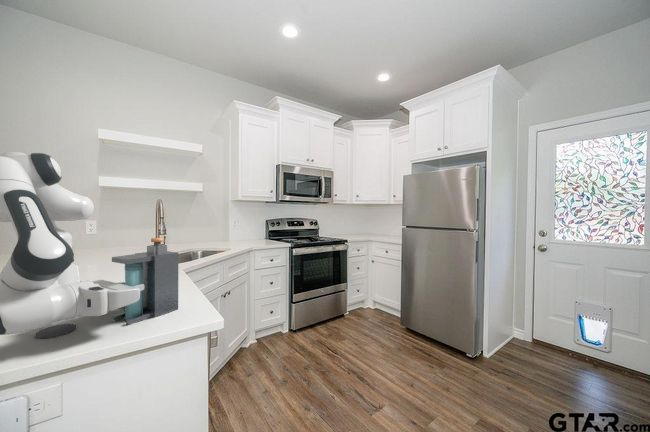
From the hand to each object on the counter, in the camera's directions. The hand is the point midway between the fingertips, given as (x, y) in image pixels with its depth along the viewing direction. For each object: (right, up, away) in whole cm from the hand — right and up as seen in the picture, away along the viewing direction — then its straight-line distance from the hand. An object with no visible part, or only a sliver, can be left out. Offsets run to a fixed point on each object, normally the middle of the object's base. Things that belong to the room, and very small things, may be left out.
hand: (137, 285), depth 84 cm
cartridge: (0, -10, -1) cm, 10 cm away
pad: (-15, -10, -10) cm, 21 cm away
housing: (+1, -10, +2) cm, 10 cm away
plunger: (+3, +10, +5) cm, 11 cm away
